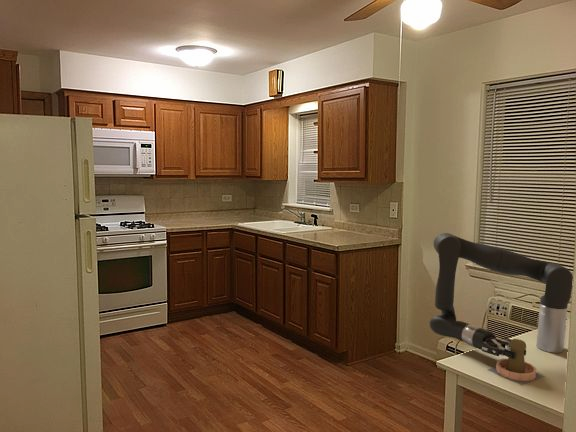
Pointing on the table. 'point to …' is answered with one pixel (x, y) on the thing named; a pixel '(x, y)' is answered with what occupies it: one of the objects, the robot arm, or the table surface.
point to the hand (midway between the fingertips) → (520, 354)
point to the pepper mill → (517, 356)
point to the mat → (515, 380)
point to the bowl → (527, 376)
